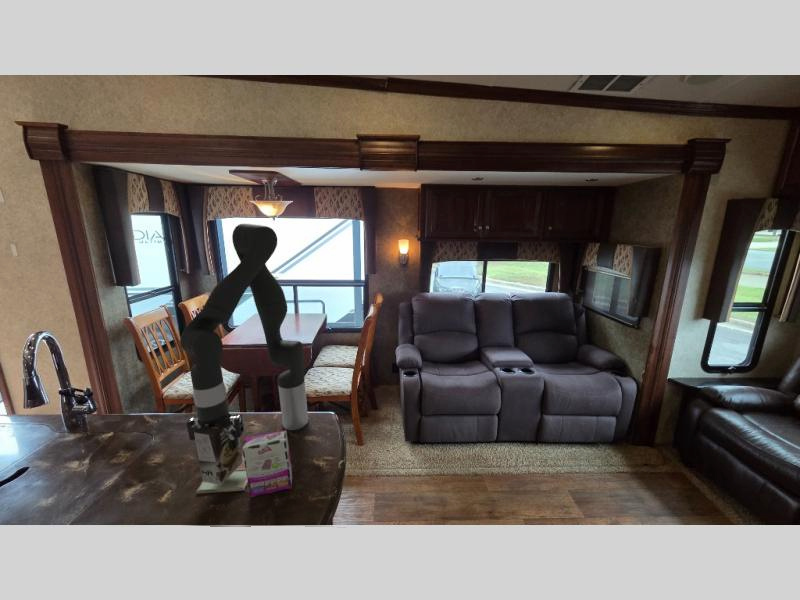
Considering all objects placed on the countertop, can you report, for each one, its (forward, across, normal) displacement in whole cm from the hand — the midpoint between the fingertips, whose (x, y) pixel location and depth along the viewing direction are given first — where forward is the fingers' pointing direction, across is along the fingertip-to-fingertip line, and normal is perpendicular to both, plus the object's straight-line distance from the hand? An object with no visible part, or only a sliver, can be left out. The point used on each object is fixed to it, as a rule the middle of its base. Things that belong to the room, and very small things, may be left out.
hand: (220, 449), depth 89 cm
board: (+12, 0, -3) cm, 12 cm away
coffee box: (+8, 0, 0) cm, 8 cm away
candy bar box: (+12, -14, +3) cm, 19 cm away
